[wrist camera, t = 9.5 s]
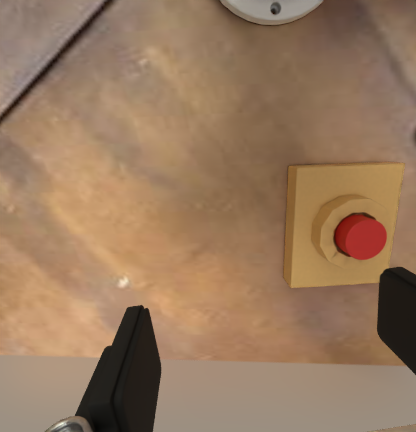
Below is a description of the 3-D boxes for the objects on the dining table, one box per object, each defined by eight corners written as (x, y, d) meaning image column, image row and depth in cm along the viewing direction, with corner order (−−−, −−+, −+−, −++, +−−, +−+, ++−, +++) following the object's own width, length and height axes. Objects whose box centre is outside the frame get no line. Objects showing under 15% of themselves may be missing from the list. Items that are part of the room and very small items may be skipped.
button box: (288, 165, 25) (305, 168, 21) (387, 161, 25) (422, 164, 22) (283, 277, 28) (297, 298, 24) (372, 272, 28) (400, 292, 25)
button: (336, 215, 23) (347, 220, 21) (375, 213, 23) (390, 218, 21) (332, 253, 24) (343, 261, 22) (370, 251, 24) (384, 259, 22)
